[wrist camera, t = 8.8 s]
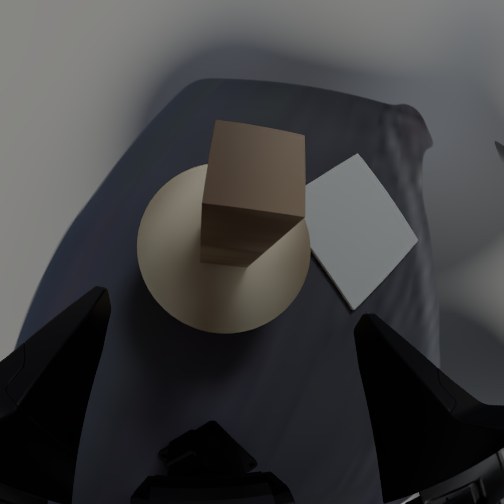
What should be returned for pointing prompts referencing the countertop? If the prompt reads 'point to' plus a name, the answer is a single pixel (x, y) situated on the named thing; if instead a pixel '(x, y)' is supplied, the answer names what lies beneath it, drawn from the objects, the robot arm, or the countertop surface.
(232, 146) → the lid
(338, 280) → the mat
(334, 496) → the countertop surface
